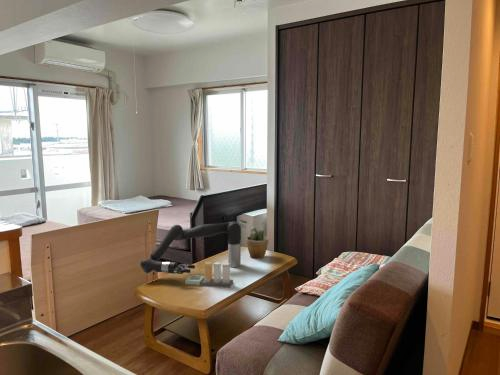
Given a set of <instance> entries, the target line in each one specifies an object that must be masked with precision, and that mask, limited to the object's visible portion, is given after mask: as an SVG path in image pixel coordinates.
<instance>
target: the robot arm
mask: <svg viewBox="0 0 500 375" xmlns="http://www.w3.org/2000/svg"><path fill="white" fill-rule="evenodd" d="M225 233H227V234H228V239H227V245H228V246H227V250H228V253H227V255H228V256H227V257H228V258H227V259H228V260H227V261H228V263H230V268H240V267H241V265H242V263H241V254H242V253H241V252H242V250H241V239H242V227H241V225H240V224H239V222H237V221H228V222H227V221H226V222H222V223H208V224H207V223H205V224H200V225H196V226H194V227H191V228H188V229H183V226H182V225H179V224H174V225H172V226H171V228H170V229H169V230H168V232H167V233H166V235H165V237H164V238H163V239H162V241H160V243H159V244H158V245H157V247H156V248H155V249H154V250H152V252H151V253H150V255H149V257H150V258H144V259H142V260H141V261H140V267H141V269H142V270H143V272H144V273H145V274H149V273H152V272H153V271H154V272H156V273H165V274H177V275H179V274H180V275H183V274H185V273H186V274H190V273H191V269H195V268H196V265H195V264H190V262H189V263H187V262H184V263H183V262H181V264H178V262H176V261H160V259H161V258H162V257H163V256H164V255H165V254H166V252H167V251H168V249H169V247H170V245H171V243H172V242H174V241H177V242H178V241H182V240H188V239H189V240H190V239H196V238H197V239H198V238H207V237H209V238H210V237H213V236H216V235H218V234H225Z"/></svg>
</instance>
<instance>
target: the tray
mask: <svg viewBox="0 0 500 375" xmlns="http://www.w3.org/2000/svg"><path fill="white" fill-rule="evenodd" d="M204 279H205V275H200V274H199V275H196V274H190V275H189V276H187V278H186V279H185V280H184V283H185V285H186V286H187V285H188V286H197V287H198V286H200V287H201V286H202V281H203V280H204Z"/></svg>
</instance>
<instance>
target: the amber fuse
mask: <svg viewBox="0 0 500 375" xmlns="http://www.w3.org/2000/svg"><path fill="white" fill-rule="evenodd" d="M204 276H205V279H206V278H207V279H210V282H211V281H212V278H213V262H212V261H205V263H204Z"/></svg>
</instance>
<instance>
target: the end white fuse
mask: <svg viewBox="0 0 500 375" xmlns="http://www.w3.org/2000/svg"><path fill="white" fill-rule="evenodd" d="M222 279H223V280H228V283H229V282H230V279H231V267H230V263H227V262H224V263H222Z"/></svg>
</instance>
